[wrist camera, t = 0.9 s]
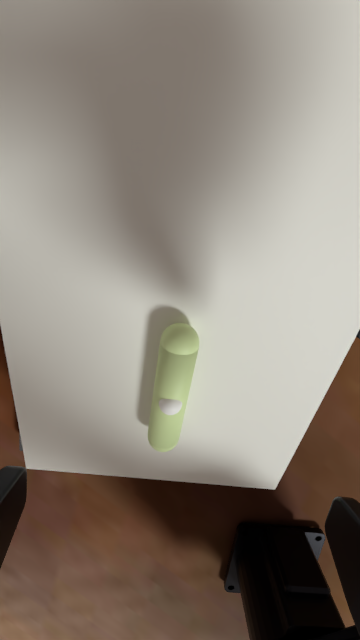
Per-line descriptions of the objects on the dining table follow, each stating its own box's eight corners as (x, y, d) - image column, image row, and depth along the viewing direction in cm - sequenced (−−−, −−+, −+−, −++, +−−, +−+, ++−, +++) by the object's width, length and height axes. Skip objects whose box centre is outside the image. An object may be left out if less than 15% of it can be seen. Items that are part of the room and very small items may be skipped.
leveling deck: (270, 472, 18) (283, 521, 16) (33, 451, 17) (11, 500, 15) (573, -145, 7) (771, -281, 4) (-84, -314, 6) (-254, -596, 3)
